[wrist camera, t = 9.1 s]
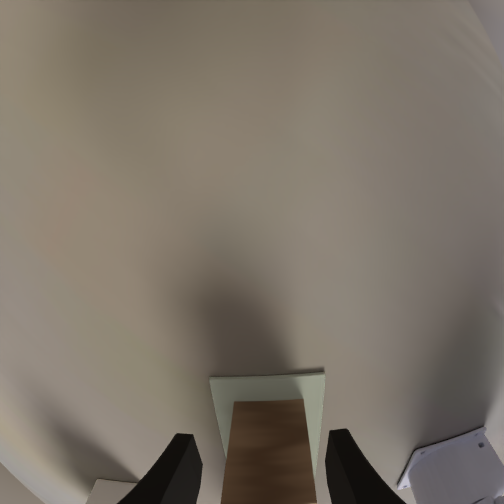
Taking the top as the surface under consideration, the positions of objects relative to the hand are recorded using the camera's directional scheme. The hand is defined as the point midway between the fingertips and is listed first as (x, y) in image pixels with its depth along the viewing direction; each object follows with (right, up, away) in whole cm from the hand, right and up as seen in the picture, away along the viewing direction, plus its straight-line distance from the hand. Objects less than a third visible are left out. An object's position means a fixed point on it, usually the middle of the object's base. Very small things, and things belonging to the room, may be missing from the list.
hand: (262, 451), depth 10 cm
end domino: (+1, -4, +11) cm, 12 cm away
